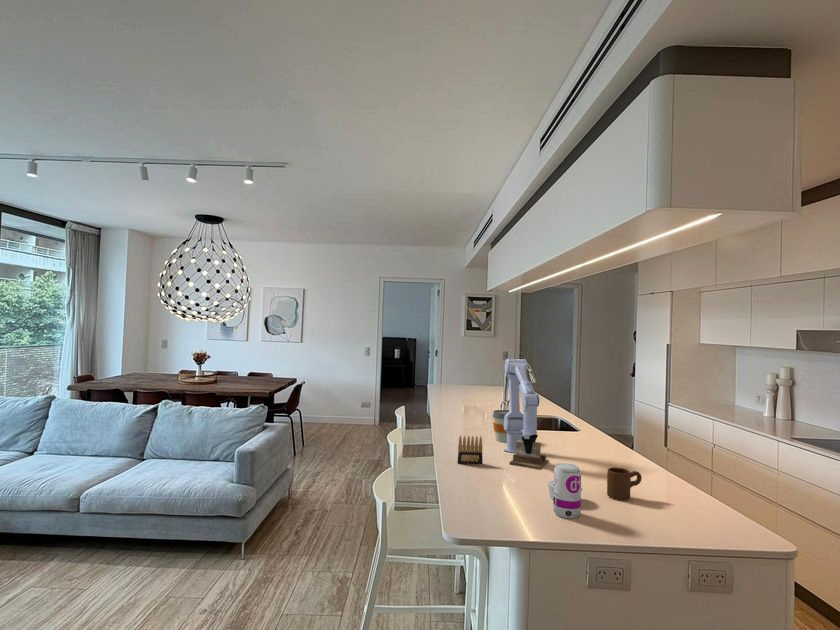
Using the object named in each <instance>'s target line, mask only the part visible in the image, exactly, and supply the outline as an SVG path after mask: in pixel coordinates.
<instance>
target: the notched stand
mask: <svg viewBox="0 0 840 630" xmlns="http://www.w3.org/2000/svg"><path fill="white" fill-rule="evenodd" d="M549 462H550V460H549V459H547V455H545V454H542V453H540V458H536V457H530V456H523V455H517V454H516V453H514V454H513V455H512V460H510V461H509V465H511V466H516V465H517V467H523V468H527V467H528V469H533V468H534V470H541V468H543V467H544V466H546V465H547V464H549ZM545 464H546V465H545Z"/></svg>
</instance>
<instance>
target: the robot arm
mask: <svg viewBox="0 0 840 630" xmlns="http://www.w3.org/2000/svg"><path fill="white" fill-rule="evenodd" d="M528 364H529V363H528V361H527V360H526V358H522V359H521V358H519V359H518V358H516V359H515V358H514V359H513V358H506V360H505V363H504V374H505V377H507V378H508V395H509V396H508V398H509V402H508V403H509V412H508V413H507V414H506V415H505V416H504V429H505V431H507V443H506V448H505V449H503V451H504V452H508V453H514V454H516V442H517V441H518V440H519V441H523V443H524V446H525V452H526V454H531V452H532V446H533V442H537V438H538V436H539V435H538V429H537V426H538V421H537V420H538V407H539V405H540V396H539V393H537V392H536V391H535V389H534V387H533V384H532V382H531V381H530V380H528V379H529V378H528V376H527V371H528V366H529V365H528ZM520 394H521V405H522V411H523V413H522V412H521V410H520V409H521V407H520ZM510 417H517V418H510Z"/></svg>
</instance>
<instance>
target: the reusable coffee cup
mask: <svg viewBox="0 0 840 630" xmlns="http://www.w3.org/2000/svg"><path fill="white" fill-rule="evenodd" d="M509 411H510V409H509V410H508V409H496V410H495V409H494V410H493V411H492V412H493V413H492V417H493V423H492V424H493V425H492V426H493V432H494V434H495V441H496V442H499V443H504V444H505V443H506V444H507V431H505V429H504V416H505V415H506V414H507V413H508V412H509ZM510 418H518V417H510Z"/></svg>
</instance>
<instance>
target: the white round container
mask: <svg viewBox="0 0 840 630" xmlns="http://www.w3.org/2000/svg"><path fill="white" fill-rule="evenodd" d="M547 487H548V493H549V498H550V499H551V500H552V502H554V479H553V480H550V481H548V483H547ZM582 491H583V487H582V485H581V492H582Z"/></svg>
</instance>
